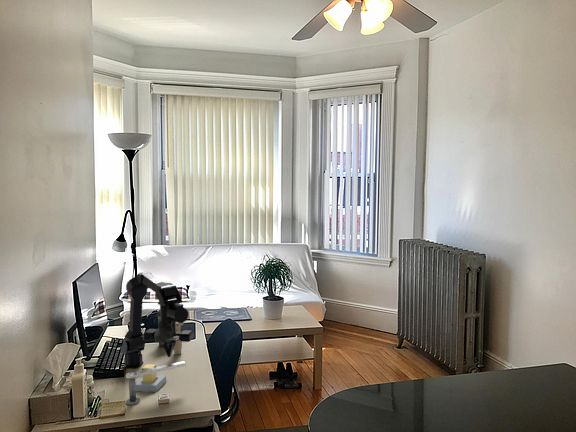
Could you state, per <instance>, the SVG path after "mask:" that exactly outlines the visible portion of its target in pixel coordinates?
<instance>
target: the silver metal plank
mask: <svg viewBox="0 0 576 432" xmlns="http://www.w3.org/2000/svg"><path fill="white" fill-rule="evenodd" d="M186 365H187V364H186V362H185V361H184V360H182V361H177V362H173V363H169V364H164V365H161V366H160V365H159V366H156V367H155V368H151V369H146V370H142V369H141V370H138V371H130V372H127V373H126V374H125V378H126V379H127V380H128V379H133V378H135V379H136V378H138V377H142V376H143V375H147V374H151V373H155V372H156V373H159V372H163V371H168V370H173V369H177V368H181V367H186Z"/></svg>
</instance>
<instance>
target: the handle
mask: <svg viewBox="0 0 576 432" xmlns="http://www.w3.org/2000/svg"><path fill="white" fill-rule="evenodd" d="M184 323H185V322H183V323H178V322H176V328H177V331H176V333H181V332H182V331H181V330H182V329H181V328H182V326H183V325H184ZM182 343H183V342H181V341H180V340H178V341H177V342H176V344H175V346H174V349H173V352H174V355H180V354H182V348H183V344H182Z"/></svg>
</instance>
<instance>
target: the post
mask: <svg viewBox="0 0 576 432" xmlns="http://www.w3.org/2000/svg"><path fill="white" fill-rule="evenodd" d="M127 380H128V381H127V382H128V395H129V396H128V398H127V399H126V400H125V405H127V406H135V405H137V404H140V402H141V399H140V398H139V397H137V391H136V378H133V379H127Z"/></svg>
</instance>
